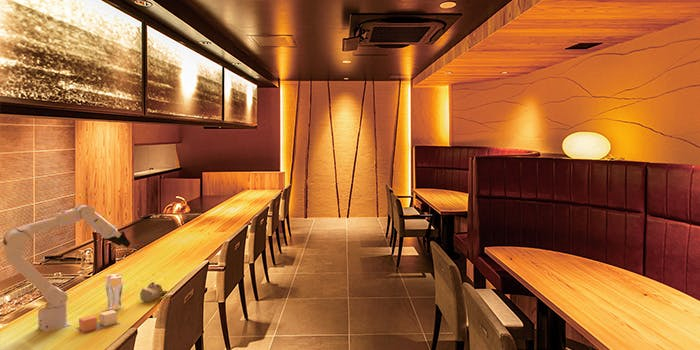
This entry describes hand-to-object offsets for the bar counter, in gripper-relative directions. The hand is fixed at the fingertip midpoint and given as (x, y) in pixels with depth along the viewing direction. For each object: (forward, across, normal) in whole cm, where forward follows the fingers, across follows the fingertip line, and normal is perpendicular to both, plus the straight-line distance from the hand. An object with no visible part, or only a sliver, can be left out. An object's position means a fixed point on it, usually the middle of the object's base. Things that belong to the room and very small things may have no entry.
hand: (125, 244), depth 207 cm
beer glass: (+19, +8, +23) cm, 31 cm away
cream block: (+13, -9, +30) cm, 34 cm away
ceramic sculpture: (+32, +8, +10) cm, 35 cm away
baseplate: (+10, -9, +33) cm, 36 cm away
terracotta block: (+7, -9, +36) cm, 37 cm away
